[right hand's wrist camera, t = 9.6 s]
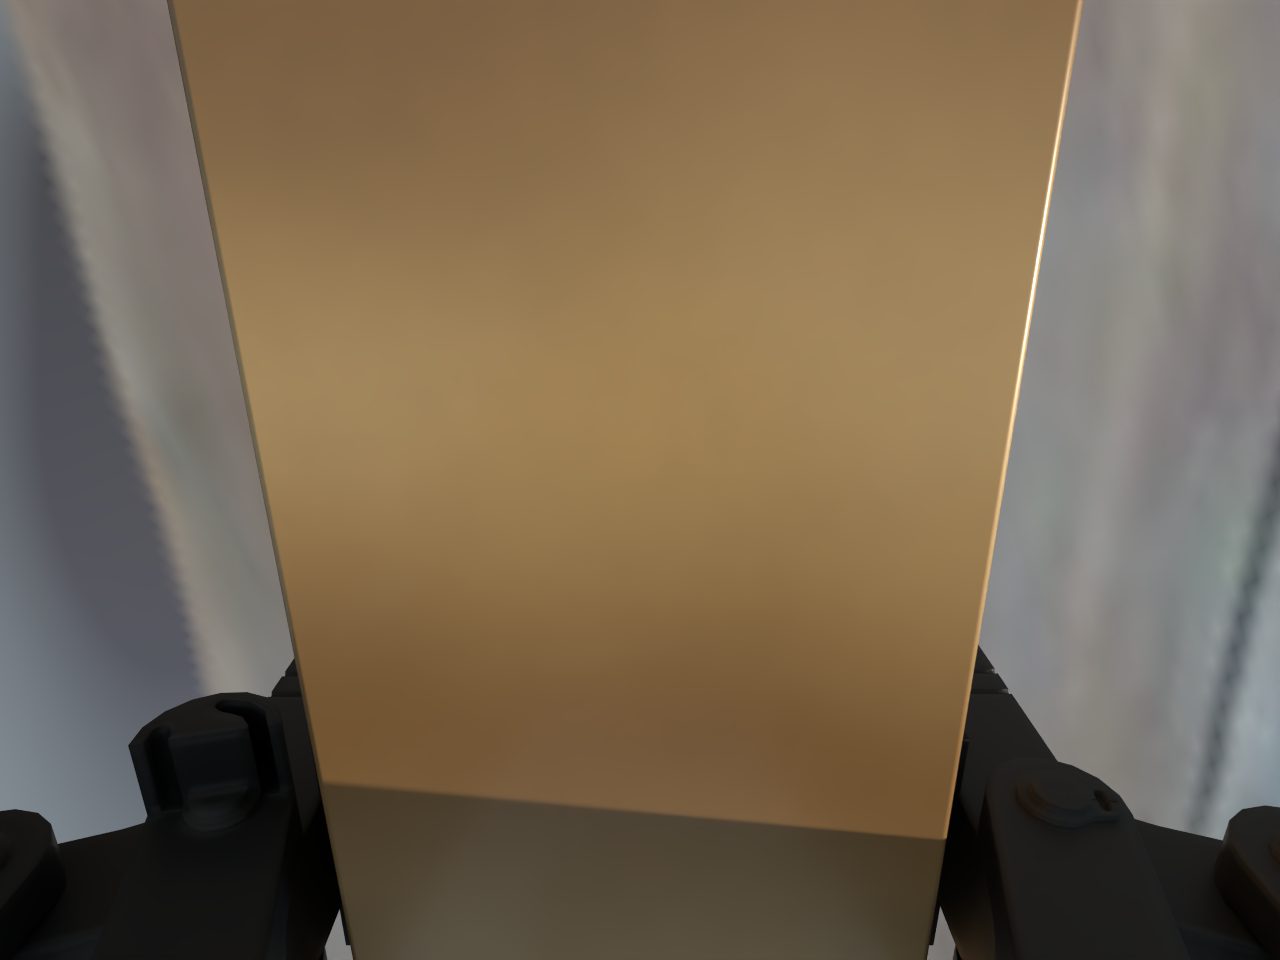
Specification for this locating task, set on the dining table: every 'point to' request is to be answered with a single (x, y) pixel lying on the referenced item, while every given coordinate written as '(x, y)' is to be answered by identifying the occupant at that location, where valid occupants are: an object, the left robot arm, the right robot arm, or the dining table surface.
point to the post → (631, 443)
